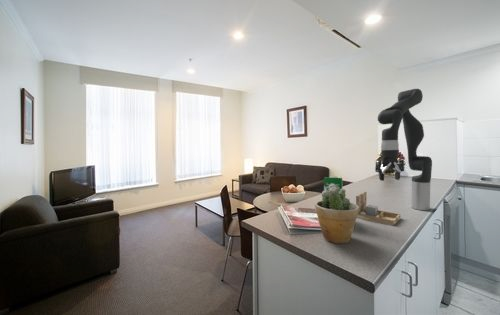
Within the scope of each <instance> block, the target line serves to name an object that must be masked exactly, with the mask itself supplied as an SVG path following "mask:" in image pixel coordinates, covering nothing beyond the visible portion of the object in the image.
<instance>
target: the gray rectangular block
mask: <svg viewBox="0 0 500 315" xmlns="http://www.w3.org/2000/svg"><path fill="white" fill-rule="evenodd" d="M378 210H379V206H377V205H371V204H368V205H366V215H368V216H373V217H376V216H377V215H378Z"/></svg>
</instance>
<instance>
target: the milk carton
mask: <svg viewBox="0 0 500 315" xmlns="http://www.w3.org/2000/svg"><path fill="white" fill-rule="evenodd" d="M331 184H335V185H337V186H338V188H339V191H340V189H343V178H342V177H338V176H335V175H334V176H333V175H331V176H329V177H327V176H325V177H323V191H325V190H326V191H329V190H328V189H329V188H328V187H329V185H331Z"/></svg>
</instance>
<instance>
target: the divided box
mask: <svg viewBox="0 0 500 315" xmlns="http://www.w3.org/2000/svg"><path fill="white" fill-rule="evenodd" d="M355 198H356V200H355V201H356V202H355V204H356V205H358V206H359V212H358V217H357V218H356V219H361V220H365V221H370V222H373V223H380V224H384V225H389V226H392V227H394V226H395V225H396V224H397V222H399V221H400V220H401V214H400V213H396V212H390V211H383V210H380V209H378V215H377V216H376V217H373V216H368V215H363V214H360V212H365V209H366V207H367V191H364V192H362V193H360V194H358V195H356V196H355ZM365 213H366V212H365Z"/></svg>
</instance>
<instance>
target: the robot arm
mask: <svg viewBox="0 0 500 315" xmlns="http://www.w3.org/2000/svg"><path fill="white" fill-rule="evenodd" d="M422 102H423V92H422V90H421V89H419V88H412V89H408V90H404V91H400V92H398V95H397V102H395V103H393V105H391V106H390V107H387V108H385V109H382V110H381V111H380V112H379V113H378V115H377V121H378V123H379V124H381V125H391V126H390V127H388V128H385V129H382V131H381V142H380V143H381V146H380V153H381V155H380V156H381V157H380V158H381V160H376V161H375V168H374V171H375V173H378V175H379V176H378V177H379V178H378V179H379V180H380V181H381V182H382V181H385V172H386V171H387V170H390V169H392V170H394V172H395V173H394V179H395V181H396V180H397V181H400V179H401V173H402V172H404V171H405V160H404V159H399V151H400V150H399V149H400V148H399V129H400V126H401V123H403V130H404V131H403V132H404V136H405V137H404V138H405V142H406V148H407V159H408V167H409V169H410V170H411V171H419V172H421V173H420V174H419V175H414V176H412V177H411V209H414V210H419V211H430V209H431V178H432V170H433V169H432V167H433V160H432V158H431V157H430V156H419V155H417V151H418V150H417V149H418V147H419V146H420V144H421V143H422V141H423V139H424V137H425V132H424V127H423V126H424V125H423V124H422V122H420V121H419V119H417V118H416V117H415V116H414V115H413V114H412V113H411V110H410V109H411V108H413V107H415V106H417V105H419V104H421V103H422Z"/></svg>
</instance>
